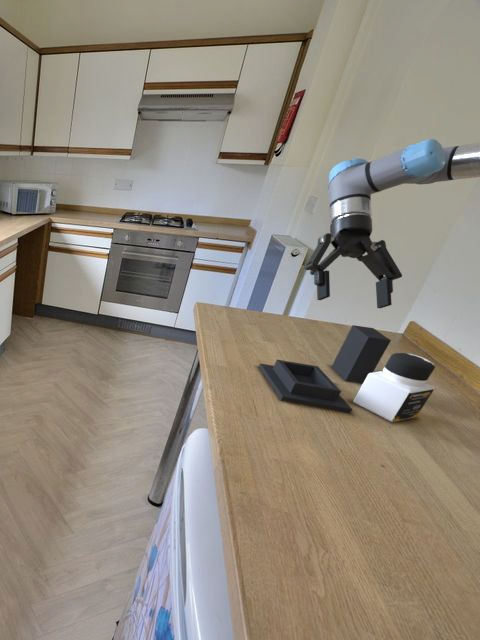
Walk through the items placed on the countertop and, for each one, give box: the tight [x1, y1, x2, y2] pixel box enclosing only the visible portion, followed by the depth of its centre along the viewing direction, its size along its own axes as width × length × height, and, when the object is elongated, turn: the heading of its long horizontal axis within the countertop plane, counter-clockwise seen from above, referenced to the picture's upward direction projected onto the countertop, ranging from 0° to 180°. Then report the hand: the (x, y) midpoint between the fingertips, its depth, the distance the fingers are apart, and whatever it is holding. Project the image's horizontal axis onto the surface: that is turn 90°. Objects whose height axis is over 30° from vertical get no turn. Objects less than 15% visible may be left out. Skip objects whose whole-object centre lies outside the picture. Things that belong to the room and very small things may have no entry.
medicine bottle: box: [353, 352, 436, 423], centre depth 80 cm, size 7×7×12 cm
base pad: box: [258, 359, 353, 414], centre depth 88 cm, size 12×15×4 cm
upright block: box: [331, 324, 392, 384], centre depth 93 cm, size 4×7×11 cm, turn 162°
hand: (353, 302), depth 96 cm, fingers open, 13 cm apart
